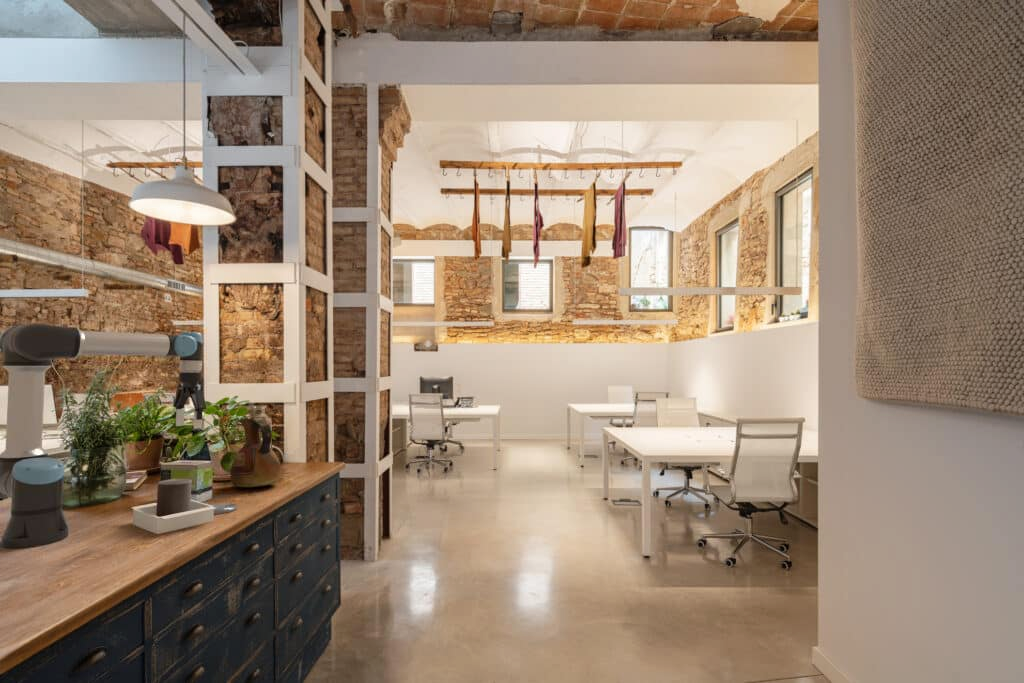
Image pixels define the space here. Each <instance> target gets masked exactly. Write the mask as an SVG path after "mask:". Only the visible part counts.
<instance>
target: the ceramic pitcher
mask: <svg viewBox="0 0 1024 683" xmlns="http://www.w3.org/2000/svg"><path fill="white" fill-rule="evenodd" d="M238 422H239V423H240V424H241V425H242V427H243V429H244V430H243V431H244V434H245V436H244V437H245V442H244V445H243V446H242V447H241V448H240V449H239V450H238V451H237V453H236V454H235V456H234V458H233V460H232V463H231V468H230V474H229V475H230V482H231V485H232V486H234V487H238V488H257V487H265V486H268V485H271V486H272V485H275V484H277V482H278V481H279V480H280V479H281V475H282V467H281V463H280V462H281V461H280V460H279V457H278V456H277V453H276V452H275V451H274V450H273V449H272V448H271V444H272V436H273V434H272V428H271V425H270V423H269V421H267V420H266V418H265V416H261V417H259V416H258V417H257V416H256V417H251V418H242V419H239V420H238ZM261 436H262V437H261Z"/></svg>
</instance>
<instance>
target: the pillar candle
mask: <svg viewBox="0 0 1024 683" xmlns="http://www.w3.org/2000/svg"><path fill="white" fill-rule="evenodd" d="M191 482H192V480H189V479H175V477H174V479H171V480H164V481H158V482H157V493H156V494H157V495H156V503H157V508H156V516H158V517H162V516H167V515H172V514H177V513H182V512H186V511H190V505H191Z"/></svg>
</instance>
